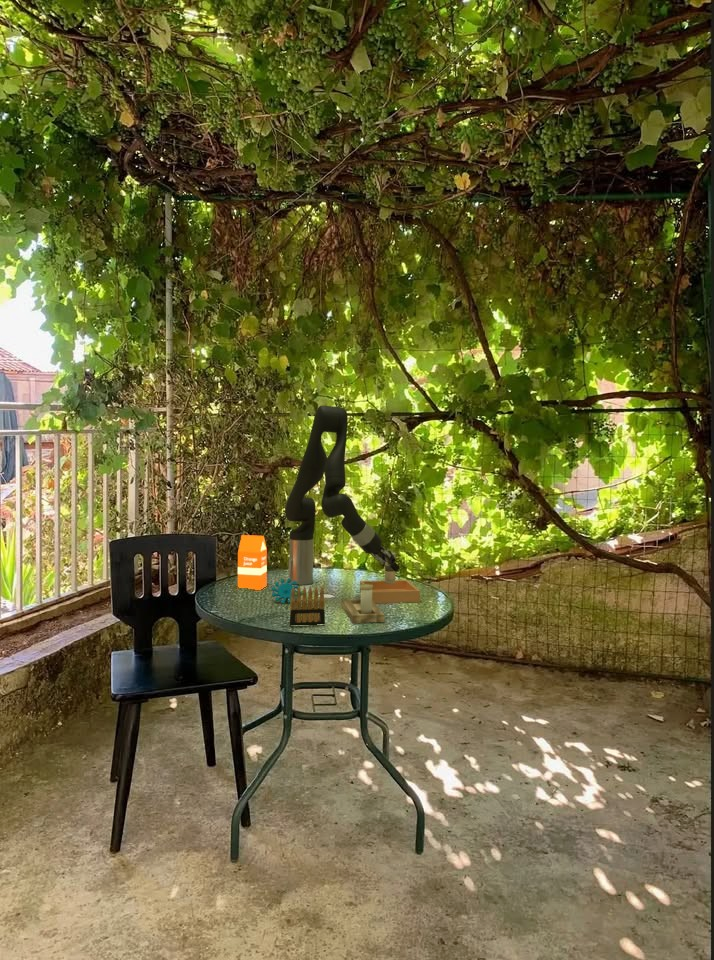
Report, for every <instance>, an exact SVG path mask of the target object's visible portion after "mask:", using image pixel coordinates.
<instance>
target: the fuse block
mask: <svg viewBox="0 0 714 960" xmlns="http://www.w3.org/2000/svg"><path fill="white" fill-rule="evenodd" d="M342 607H343V608H342ZM341 608H342V609H343V611H344V610H345V611H344V612H345V614H346V613H347V614H346V615H348V616H349V617H348V616H347V617H348V619H349V618H350V619H349V620H350V622H351V621H352V622H351V623H352V624H353V623H355V624H364V623H363V622H366V623H365V624H368V623H367V622H384V623H385V613H384V612H383V611H382V610H381V608H380V607H379V606H378V605H377V604H375V603H374V601H373V600H372V614H360V610H361V598H352V599H351V598H347V599H346V598H344V599H341Z"/></svg>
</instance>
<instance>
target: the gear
mask: <svg viewBox="0 0 714 960" xmlns="http://www.w3.org/2000/svg"><path fill="white" fill-rule="evenodd" d="M280 582H281V584H279V581H276V582H274V585H275V586H276V587H277V588H276V587H275V586H272V588H271V591H273V592H272V593H271V594H272V597H273V598H274V599H275V601H276V602H277V603H278V602H279V601H280V600H281V601H280V603H281V604H282V603H283V604H282V605H284V603H286V601H287V604H289V605H290V600H291V591H292V588H293V587H294V590H295V600H296V599H297V590H298V587H300V585H297V582H296V581H293V583H291V584H290V583H289V582H291V579H289V577H288V578H287V580H286V582H285V578H281V579H280ZM300 588H301V587H300ZM300 591H301V596H303V590H300ZM286 599H288V600H286Z"/></svg>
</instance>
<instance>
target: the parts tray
mask: <svg viewBox="0 0 714 960" xmlns="http://www.w3.org/2000/svg"><path fill="white" fill-rule="evenodd" d="M361 584H372V585H373V589H372V600H373V601H374V603H375V604H376V605H377V604H400V603H399V602H411V603H421V590H420V589H419V588H418V587H416V585H414V584H413V583H412V582H410V581H409V580H408V579H399V580H398V579H397V580H396V579H395V584H385V583H384V580H360V581H359V586H360V585H361ZM359 593H360V594H361V589H360V588H359Z"/></svg>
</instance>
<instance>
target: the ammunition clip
mask: <svg viewBox="0 0 714 960" xmlns="http://www.w3.org/2000/svg"><path fill="white" fill-rule="evenodd" d="M295 590H296V591H297V599H296V600H295ZM295 590H294V587H293V588H292V591H291V600H290V604H289V605H290V606H289V611H290V612H289V624H290V625H317V624H325V625H326V616H325V614H326V613H325V612H326V611H325V609H326V608H325V604H326V603H325V601H326V600H325V591H324V590H325V589H324V587H323V585H322V586H321V587H320V589H318V587H317V586H315V588H314V591H313V588H312V586H309V588H308V594H307V588H306V586H303V589H302V590H301V587H298V589H295ZM301 591H303V595H301ZM319 591H320V592H319ZM313 592H314V593H313ZM307 595H308V596H307ZM290 625H289V626H290Z"/></svg>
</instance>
